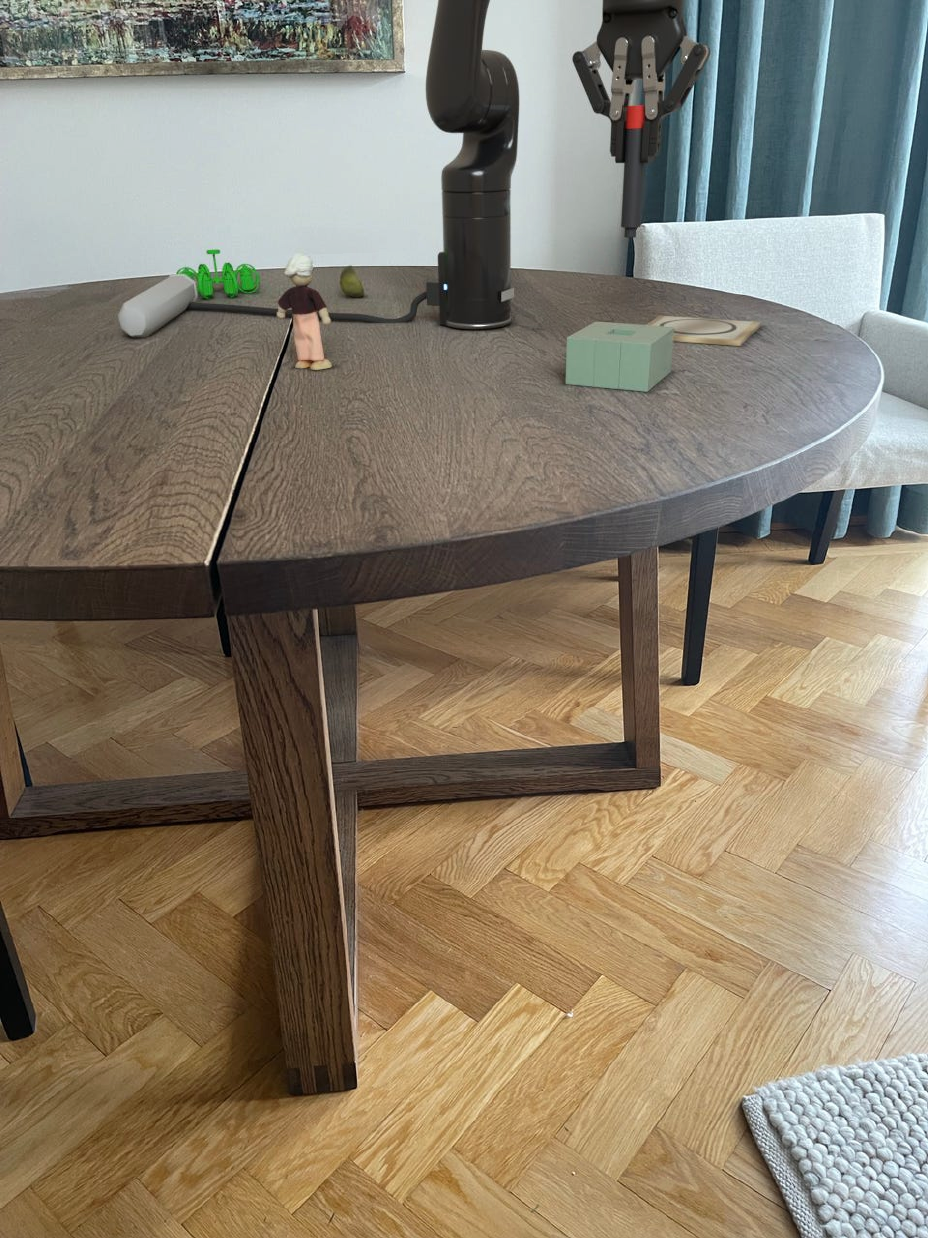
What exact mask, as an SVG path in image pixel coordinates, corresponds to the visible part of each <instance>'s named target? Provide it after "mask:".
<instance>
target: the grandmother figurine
mask: <svg viewBox="0 0 928 1238" xmlns="http://www.w3.org/2000/svg"><path fill="white" fill-rule="evenodd" d="M313 263H314V262H313V259H312V258H311V257H310V256H309V255H308V254H307V253H306V254H305V253H296V254H294V255H293V256H292V257H291V258H290V259H289V260H288V261H287V263H286V266H285V269H284V272H283V274H284V276H285V277H288V278H289V279H290V281H291V282H292V284H293V285H295V286H292V287H290V288H288V289H287V290H286V291H285V292H284V293H283V294H282V295H281V296H280V298H279V299H278V300H277V304H278V306H277V309H278V312H277V315H276V317H277V318H278V319H279V320H284V319H285V318H286V316H285V312H286V311H287V310H292V315H293V317H292V327H293V328H292V329H293V339H294V340H293V341H294V345H295V346H294V347H295V351H296V359H297V362H296V363H295V366H294V368H295V369H307V368H309V369H310V370H312V371H320V370H325V369H330V368H332V367H333V364H332V362H331V361H330V360H329V359H327V358H325V354H324V353H325V352H324V348H323V343H322V342H323V341H322V336H321V335H322V334H321V325H320V319H318V315H317V312H319V315H320V317H321V318H322V319H321V323H322V325H323V326H330V325H331V323H332V320H331V319H330V318H329V314H328V313H329V311H328V307H327V305H326V303H325V301H324V300H323V297H322V296H321V294H320V292H318V291H317V290H316V289H314V288H312V287H309V285H310V284H311V283H312V281H313V277H314V274H313V268H314V267H313Z"/></svg>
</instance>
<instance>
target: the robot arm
mask: <svg viewBox="0 0 928 1238" xmlns="http://www.w3.org/2000/svg"><path fill="white" fill-rule="evenodd" d="M490 2H491V0H438V1H437V6H436V12H435V19H434V25H433V31H432V35H431V36H432V37H431V42H430V49H429V54H428V61H427V66H426V76H425V78H426V79H425V102H426V107H427V111H428V115H429V117H430V119H431V121H432V122H433V124H434V126H435V127H436V128H438V130H439V131H442V132H444V133H448V134H462V144H461V148H460V150H459V152H458V153H457V155H456V156H455V158H453V159H452V160H451V161H450V162H448V163H447V164H446V165H445V166H444V167H442V170H441V172H440V173H441V175H440V184H441V185H440V187H441V188H440V190H441V210H442V211H441V215H442V216H441V217H442V218H441V219H442V247H443V248H442V249H443V251H440V252H438V254H437V273H438V274H437V277H438V278H434V279H431V280H429V281H426V282H425V291H424V292H422V293H420V294H418V295H417V296H415V298H414V299H412V301H411V303H410V308H409V312H408V313H407V314H405V315H404V316H401V317H396V318H385V317H379V316H374V315H369V314H363V313H348V312H347V313H345V312H328V314H329V318H330V319H331V321H357V322H365V323H369V324H370V323H371V324H398V323H399V324H400V323H401V324H402V323H409V322H411V321H412V320H414V319H415V317H416V315H417V312H418V307H419V305H420V304H421V303H422V302H423V301H425V300H426V306H429V307H430V306H431V307H432V306H433V307H439V309H438V310H439V325H441V326H447V327H450V328H454V329H461V330H488V329H497V328H502V327H506V326H508V325H510V324H511V323H512V316H511V311H512V305H511V299H513V298H515V287H513V288H512V287H511V285H512V283H511V279H512V278H511V276H512V272H511V269H512V268H511V265H512V263H511V262H512V261H511V258H512V257H511V254H512V253H511V252H512V251H511V250H512V248H511V244H512V243H511V242H512V241H511V240H512V239H511V238H512V235H511V234H512V233H511V228H512V226H511V215H512V214H511V208H512V207H511V206H512V205H511V202H512V201H511V197H512V196H511V194H512V193H511V192H512V191H511V189H512V187H511V186H512V175H513V173H514V170H515V167H516V163H517V159H518V146H519V145H518V142H519V124H520V122H519V121H520V87H519V86H520V85H519V78H518V75H517V72H516V69H515V67H514V64H513V62H512V61H511V60H510V58H509V57H508V56H507V55H506V54H504V53H503V52H500V51H498V50H491V49H483V43H484V32H485V25H486V20H487V14H488V10H489V9H488V8H489V6H490ZM684 5H685V0H602V7H601V8H602V9H601V10H602V11H601V12H602V13H601V15H602V16H601V17H602V18H601V19H602V20H601V25H600V28H599V30H598V32H597V35H596V41H595V42H593V43H592V44H591V45H589V46H588V47H586V48H585V49H583V50H582V51H581V50H580V51H579V50H578V51H575V52H574V53H573V55H572V63H573V66H574V69H575V71H576V73H577V76H578V77H579V80H580V82H581V85H582V87H583V89H584V93H585V95H586V97H587V99H588V101H589V102H588V103H589V104H590V106H591V109H592V111H593V113H595V114H597V115H602V116H603V117H606V118H608V119H609V121H610V142H609V152H610V156H611V157H612V158H613V157H614V162H615V164H624V159H625V140H626V111H627V106H631V99H632V94H633V92H634V88H635V87H634V86H635V81H636V80H639V79H642V91H643V93H644V105H645V115H646V121H643V135H642V152H641V162H642V163H644V164H650V163H654V160H655V157H658V156H659V154H660V152H661V143H662V130H663V121H664V119H665V117H667V116H669V115H670V114H673V113H675V112H678V111H680V110H682V108H683V107H684V105H685V103H686V101H687V98H688V97H689V95H690V93H691V91H692V89H693V88H694V85H695V83H696V82H697V80H698V79H699V76H700V74H701V73H702V71H703V69H704V67H705V65H706V63H707V62H708V60H709V57H710V56H711V48H710V47H709V45H705V44H701V43H698V42H697V41H695V40H694V39H692V38H690V37H689V36H688V31H687V27H686V25H685V22H684ZM680 50H681V55H680V64H681V65H682V67H681V69H680V71H679V73H678V74H677V77H676V79H675V80H674V83H673V84H672V87H671V88H670V90H669V92H668V94H667V96H666V98H665V90H666V71H667V70H668V68H669V67H670V65H671V64H672V62H673V61H674V59H675V58H676V57H677V54H679V52H680ZM601 56H603V59H604V60H605V62H606V64H607V65H608V67H609V69H610V70H611V72H612V76H611V85H610V93H611V96H609V94H608V92H607V89H606V87H605V85H604V82H603V80H602V77H601V75H600V72H599V69H600V68H601V66H602V63H601ZM186 310H202V311H203V310H204V311H205V310H206V311H222V312H236V313H247V314H257V315H269V316H277V312H278V308H275V307H261V306H251V305H250V306H248V305H240V304H239V305H237V304H226V303H225V304H224V303H209V302H208V303H207V302H195V303H189V305H188V306H187V309H186ZM317 315H318V320H322V318H321V317H320V315H319V312H318V311H317ZM285 317H291V318H293V315H292V309H287V311H286V312H285Z"/></svg>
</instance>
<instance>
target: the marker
mask: <svg viewBox="0 0 928 1238" xmlns="http://www.w3.org/2000/svg"><path fill="white" fill-rule="evenodd" d="M643 121H646V115H645V104H644V105H643V104H642V105H641V104H639V105H630V106H627V111H626V140H625V159H624V163H623V180H622V181H623V183H622V201H621V217H620V218H621V220H620V227H621V228H624V234H623V235H624V238H626V239H633V238H637V228H641V227H642V226H641V225H642V211H643V195H644V193H643V192H644V178H645V177H644V175H645V163H642V162H641V152H642V135H643Z"/></svg>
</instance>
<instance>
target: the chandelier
mask: <svg viewBox="0 0 928 1238" xmlns="http://www.w3.org/2000/svg"><path fill="white" fill-rule="evenodd" d="M205 252H206V254H207V255H212V260H213V268H214V275H215V277H212V274H211V272H210V269H209V268H208V266H207V264H205V263H200V264H199V265H198V268H197V271H196V270H195V269H193V268H191V267H189V266H183V267H181V268H179V269H178V270H177V271H176V273H175V274H185V275H187V276H188V277H190V278H191V279H193V280H194V281H195V278H196V282H197V291H198V292H199V295H200V296H201V297H202V298H203V299H205V300H209V299H210V298H211V296H212V295H213V294H214V288H213V284H223V288H224V292H225V294H227V295H228V296H229V297H230V298H235V297H237V296H238V293H239V290H240V291H241V292H242V293H244V294H253V293H255V292H256V291H257V290H258V289H259V287H260V285H261V280H260V276H259V274H258V271H257V270H256V268H255V267H254V266H253V265H251V264H249V263H241V264H239V265H237V267H236V268H235V270H234V267H233V265H232V263H231V262H224V264H223V266H222V268H221V270H222V271H221V277H219V273H218V267H217V261H216V260H217V259H216V255H219V254H221V250H220V249H207V250H206V251H205ZM253 274H254V275H255V280H254V275H253ZM238 275H239V281H240V284H239V282H238ZM256 285H257V286H256Z"/></svg>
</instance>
